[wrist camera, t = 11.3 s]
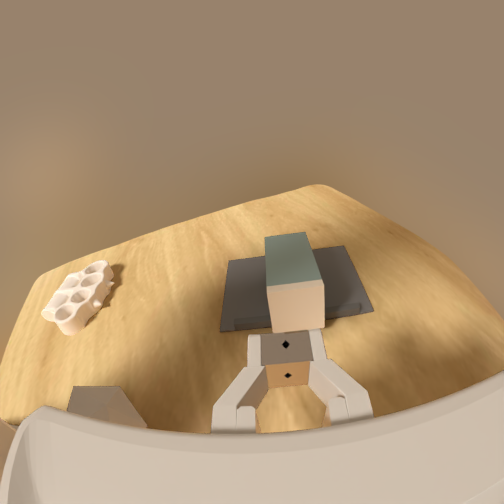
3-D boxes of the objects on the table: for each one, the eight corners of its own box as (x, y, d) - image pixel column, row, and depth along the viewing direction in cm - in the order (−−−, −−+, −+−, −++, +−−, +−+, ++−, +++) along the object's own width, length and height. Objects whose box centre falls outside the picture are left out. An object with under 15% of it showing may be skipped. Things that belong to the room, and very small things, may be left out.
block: (266, 293, 29) (264, 237, 41) (273, 334, 32) (269, 271, 44) (324, 285, 28) (305, 231, 41) (324, 327, 31) (307, 267, 44)
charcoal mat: (220, 331, 35) (218, 325, 35) (228, 261, 49) (227, 255, 48) (373, 311, 34) (374, 305, 33) (343, 246, 47) (343, 240, 46)
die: (173, 427, 25) (117, 356, 25) (145, 480, 16) (69, 395, 16) (125, 442, 26) (76, 380, 25) (95, 485, 17) (32, 413, 17)
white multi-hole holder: (77, 276, 54) (129, 270, 53) (39, 334, 39) (93, 338, 37) (71, 264, 52) (123, 256, 51) (29, 321, 37) (82, 323, 36)
